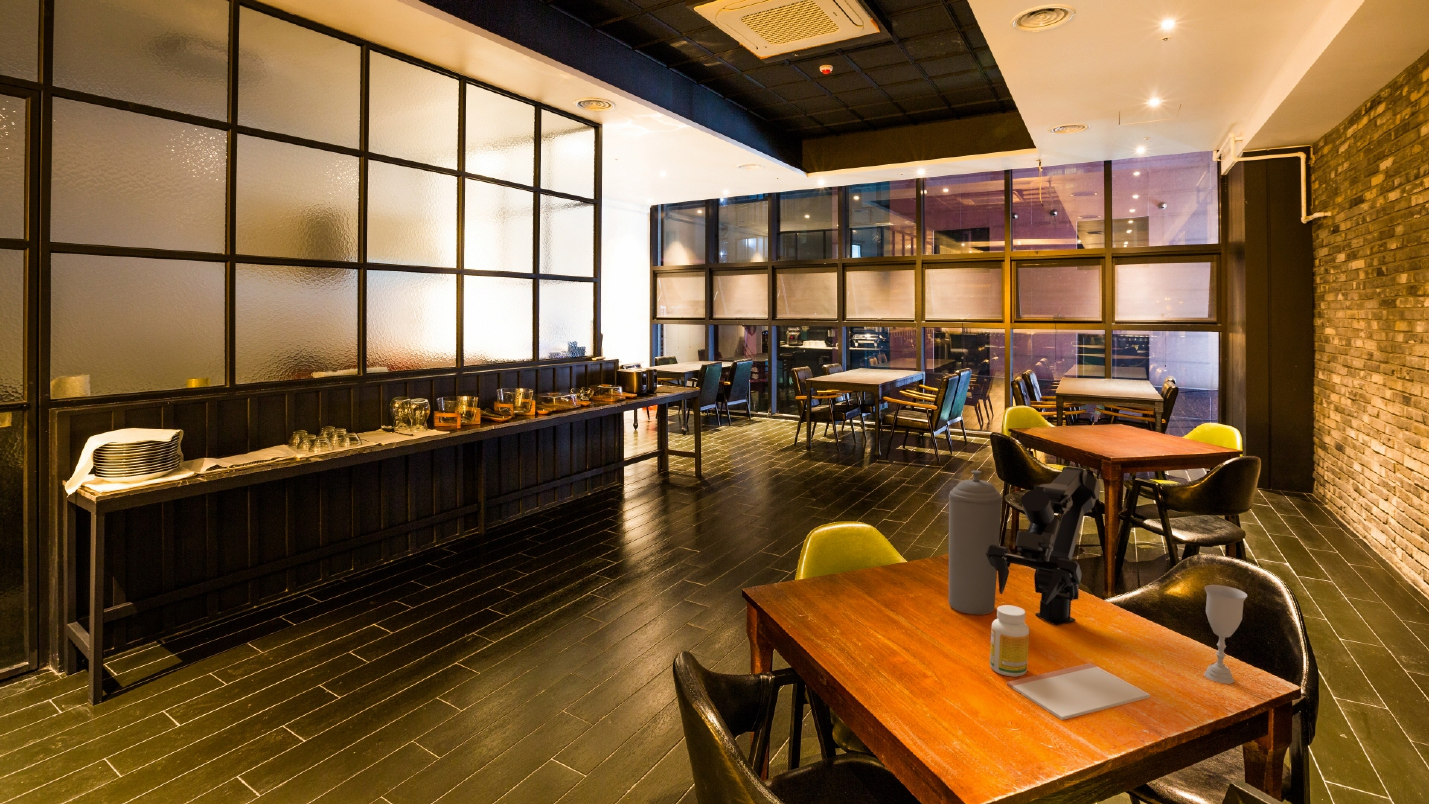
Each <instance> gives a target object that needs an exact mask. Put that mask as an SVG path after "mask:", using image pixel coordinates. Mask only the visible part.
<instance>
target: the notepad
mask: <svg viewBox="0 0 1429 804" xmlns="http://www.w3.org/2000/svg"><path fill="white" fill-rule="evenodd" d="M1006 685H1007V687H1009V688H1011V689H1012V688H1013V689H1012V690H1014V691H1016V692H1017V693H1019V694H1020V693H1021V694H1020V695H1022V696H1023V697H1025V698H1026V699H1028V700H1029V701H1030V702H1032V703H1034V704H1036V705H1037V706H1039V707H1040V708H1042V709H1043V710H1045V711H1047V712H1048V713H1049V714H1052V715H1053V716H1054V717H1056V718H1058V719H1059V720H1060V721H1063V720H1067V719H1068V720H1069V719H1072V718H1075V717H1079V716H1082V715H1087V714H1091V713H1095V712H1099V711H1102V710H1106V709H1110V708H1114V707H1117V706H1121V705H1126V704H1129V703H1133V702H1137V701H1141V700H1145V699H1149V698H1151V694H1150V693H1148V692H1146V691H1144V690H1143V689H1140V688H1139V687H1137V686H1136V685H1133V684H1131V683H1129V682H1127V681H1126V680H1123V679H1122V678H1120V677H1118V676H1116V675H1114V674H1112V673H1110V672H1108V671H1106V670H1104V669H1103V668H1101V667H1099V666H1097V665H1096V664H1094V663H1091V662H1089V663H1084V664H1080V665H1076V666H1071V667H1066V668H1062V669H1057V670H1054V671H1048V672H1044V673H1040V674H1037V675H1031V676H1027V677H1023V678H1018V679H1014V680H1010V681H1006Z"/></svg>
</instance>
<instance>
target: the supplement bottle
mask: <svg viewBox="0 0 1429 804" xmlns="http://www.w3.org/2000/svg"><path fill="white" fill-rule="evenodd" d="M1025 621H1026V611H1025V609H1024V608H1021V607H1019V606H1017V605H1016V606H1015V605H1010V604H1006V605H1005V604H1004V605H1000V606H998V607H997V608H996V619H994V620H993V621H992V623H991V629H990V630H991V631H990V632H991V633H990V649H989V650H990V651H989V665H990V668H991V670H992V671H994V672H995V673H998V674H999V675H1002V676H1007V677H1013V678H1018V676H1019V677H1021V676H1024V675H1025V674H1026V673H1027V671H1028V663H1029V662H1028V660H1029V642H1030V639H1029V638H1030V628H1029V626H1028V625H1027V624H1026V622H1025Z"/></svg>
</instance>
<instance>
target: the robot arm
mask: <svg viewBox="0 0 1429 804" xmlns="http://www.w3.org/2000/svg"><path fill="white" fill-rule="evenodd" d="M1100 494H1101V487H1100V484H1099V481H1098V479H1097V478H1095V477H1094V476H1092V475H1091V474H1090V473H1088V471H1087V469H1085V468H1083V467H1078V466H1077V467H1076V466H1068V465H1067V466H1063V468H1062V469H1061V472H1060V474H1058V476H1057V477H1056V478H1055V479H1054V480H1053V481H1052V482H1050V483H1042V484H1040V485H1035V486H1034V489H1031V490H1028V491H1027V492H1025V493H1024V494H1023V495H1021V500H1020V501H1021V505H1022V508H1023V512H1024V514H1025V516H1026V520H1027V521H1028V522H1029V525H1028V528H1027V530H1025V531H1021V530H1018V531H1017V533H1016V538H1015V544H1014V546H1016V547H1017V549H1016V550H1017V552H1018V553H1019V554H1020V555H1019V554H1017V555H1016V554H1013V553H1010V551H1009V549H1008V547H1007V546H1001V545H999V546H997V545H990V546H989V547H988V548H987V551H986V556H987V558H988V560H989V562H990V565H992V566H993V567H995V569H996V570H997V576H998V577H997V580H998V593H999V594H1000V595H1003V593H1004V591H1005V588H1006V584H1007V582H1008V577H1009V574H1010V570H1009V568H1010V566H1011V564H1014V565H1018V566H1024V567H1027V568H1033V569H1035V571H1034V576H1033V577H1034V578H1033V579H1034V590H1035V593H1036V594H1040V595H1041V597H1040V600H1039V612H1035V613H1034V614H1035V616H1036V617H1038V618H1039V619H1041V620H1044V621H1046V622H1048V623H1050V624H1052V625H1054V626H1059V625H1063V624H1064V625H1065V624H1069V623H1074V622H1076V620H1077V619H1075V618H1073V617H1072V616H1071V607H1072V602H1073V601H1074V600H1079V594H1080V593H1079V592H1080V591H1079V585H1081V580H1082V575H1083V574H1082V571H1081V568H1080V564H1079V562H1078V561H1077V560H1073V556H1074V551H1075V548H1076V544H1077V541H1078V537H1079V535H1080V534H1079V533H1080V529H1081V527H1082V523H1083V519H1084V515H1085V514H1087V513H1088V512H1089V511H1091V510H1092V509H1094V507H1095V504H1096V502H1097V500H1099V497H1100ZM1056 514H1057V515H1061V519H1060V520H1059V517H1058V516H1057V515H1056Z"/></svg>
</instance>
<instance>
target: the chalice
mask: <svg viewBox="0 0 1429 804" xmlns="http://www.w3.org/2000/svg"><path fill="white" fill-rule="evenodd" d="M1204 591H1205V592H1206V603H1205V604H1206V605H1205V614H1206V616H1207V620H1208V623H1209V625H1210V627H1211V630H1212V632H1213V633H1214V634H1215V635H1216V636H1218V642H1217V643H1216V646H1217V648H1218V650H1217V652H1215V655H1216V656H1217V660H1216V662H1215V663H1211V664H1209V665H1208V667H1207V668H1206V671H1204V673H1203V676H1204V677H1206V678H1207V679H1208V680H1210V681H1213V682H1216V683H1219V684H1226V685H1227V684H1228V685H1230V684H1233V683H1235V680H1234V678H1233V674H1232V671H1231V670H1230V668H1229V667H1228V666H1226V665H1225V664H1224V659H1225V657H1227V655H1226V654H1225V649H1226V647H1227V645H1226V641H1225V640H1226V638H1230V637H1232V636H1233V634H1234V633H1235V632H1236V631H1237V630H1238V628H1239V626H1240V624H1241V622H1242V620H1243V611H1244V601H1245V600H1246V599H1247V598H1248V594H1247V593H1246V592H1244V591H1243V590H1240V589H1238V588H1236V587H1231V586H1226V585H1220V584H1209V585H1208V584H1207V585H1205V586H1204Z"/></svg>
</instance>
